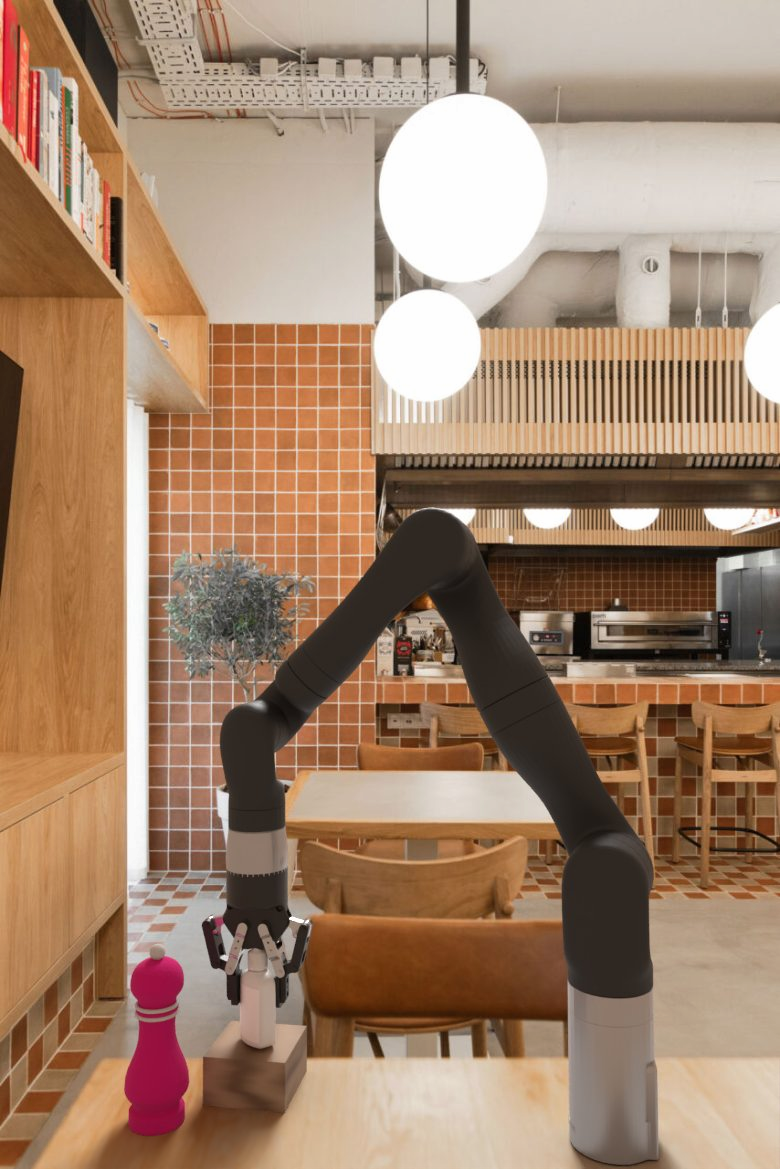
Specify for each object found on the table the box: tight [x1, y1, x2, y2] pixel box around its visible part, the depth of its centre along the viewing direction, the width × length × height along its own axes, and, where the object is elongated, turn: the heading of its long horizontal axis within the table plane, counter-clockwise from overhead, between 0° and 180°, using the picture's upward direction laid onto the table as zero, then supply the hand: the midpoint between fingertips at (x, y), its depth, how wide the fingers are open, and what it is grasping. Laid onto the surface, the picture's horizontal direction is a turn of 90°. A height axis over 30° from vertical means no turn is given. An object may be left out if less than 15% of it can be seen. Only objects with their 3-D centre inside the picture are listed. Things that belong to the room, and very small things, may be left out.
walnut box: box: [202, 1020, 308, 1114], centre depth 114 cm, size 10×10×6 cm
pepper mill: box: [123, 943, 190, 1137], centre depth 107 cm, size 7×7×20 cm
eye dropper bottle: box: [239, 948, 277, 1049], centre depth 114 cm, size 4×6×12 cm
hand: (257, 1003), depth 114 cm, fingers closed on eye dropper bottle, 5 cm apart
